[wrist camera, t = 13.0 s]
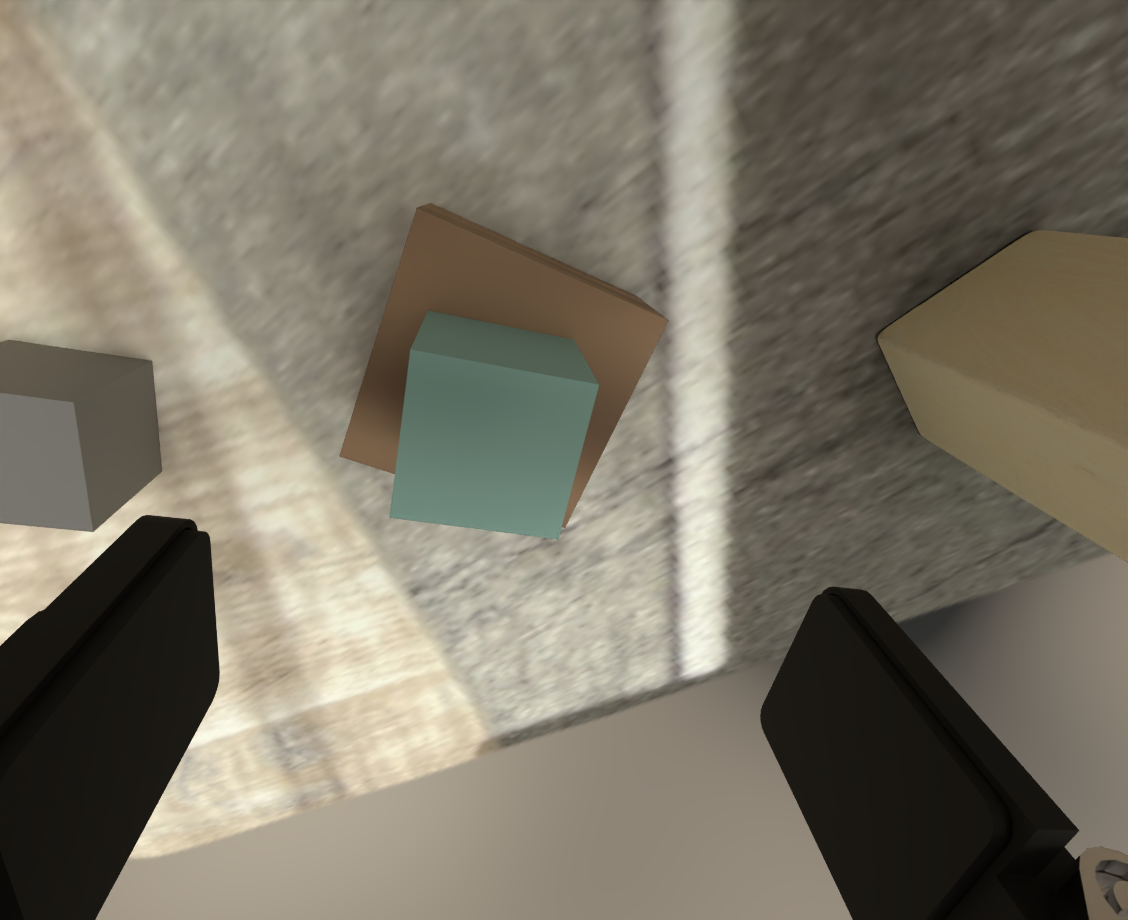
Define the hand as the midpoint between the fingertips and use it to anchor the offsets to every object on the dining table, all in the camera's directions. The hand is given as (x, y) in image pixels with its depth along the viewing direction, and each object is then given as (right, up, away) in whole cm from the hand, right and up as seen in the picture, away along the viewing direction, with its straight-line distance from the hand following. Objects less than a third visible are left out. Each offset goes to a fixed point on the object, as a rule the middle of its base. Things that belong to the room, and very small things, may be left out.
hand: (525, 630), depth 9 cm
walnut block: (-2, +7, +16) cm, 18 cm away
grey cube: (-19, +5, +15) cm, 25 cm away
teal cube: (-2, +5, +12) cm, 13 cm away
